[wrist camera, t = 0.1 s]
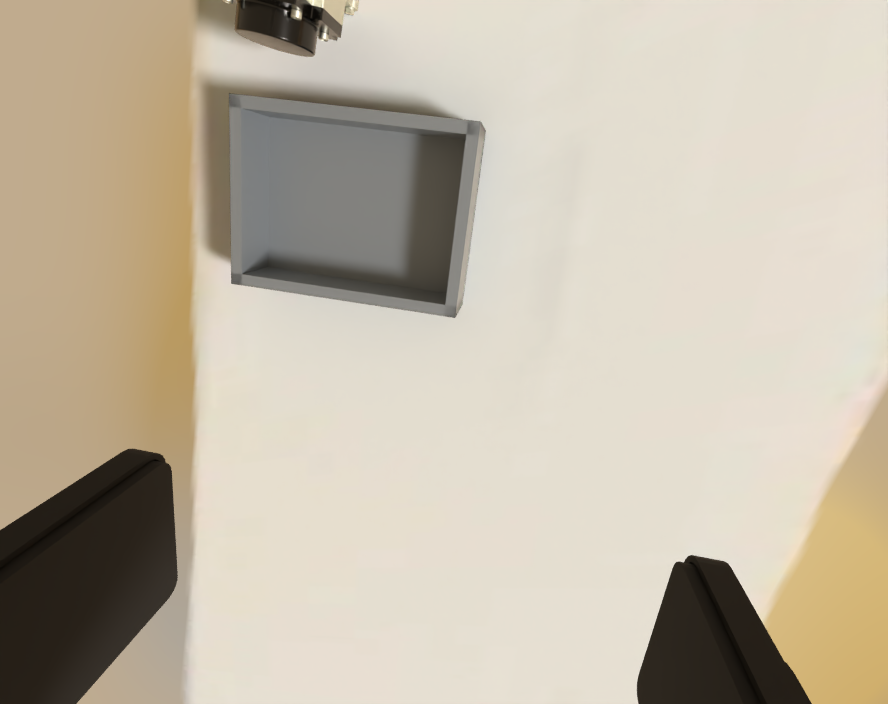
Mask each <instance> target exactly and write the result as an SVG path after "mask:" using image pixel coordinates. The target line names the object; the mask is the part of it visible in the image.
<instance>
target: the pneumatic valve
mask: <svg viewBox="0 0 888 704" xmlns="http://www.w3.org/2000/svg"><path fill="white" fill-rule="evenodd" d="M222 1H223V2H225V3H228V4H233V2H234V3H236V4H237V7H236V19H235V31H236V32H237V33H238V34H239V35H241V36H243V37H244V38H246V39H249V40H251V41H253V42H256V43H258V44H261V45H264V46H266V47H269V48H272V49H276V50H279V51H282V52H286V53H290V54H294V55H299V56H305V57H313V56H314V55H315V49H316V42H317V36H319V39H320V40H322V41H328V39H332V40H336V41H337V37H340V38H341V31H342V24H343V18H344V11H345V13H346V14H349V15H354V12H355V11H358V4H359V0H222Z"/></svg>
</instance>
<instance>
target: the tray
mask: <svg viewBox="0 0 888 704" xmlns="http://www.w3.org/2000/svg"><path fill="white" fill-rule="evenodd" d="M229 129H230V211H231V284H237V285H244V286H251V287H257V288H264V289H270V290H277V291H283V292H290V293H296V294H303V295H309V296H316V297H323V298H329V299H336V300H342V301H349V302H355V303H362V304H368V305H375V306H381V307H388V308H395V309H401V310H408V311H414V312H421V313H427V314H434V315H440V316H447V317H453V318H455V317H456V315H457V313H458V312H459V310H460V308H461V306H462V304H463V296H464V289H465V281H466V274H467V266H468V259H469V251H470V244H471V237H472V229H473V222H474V214H475V207H476V199H477V192H478V184H479V177H480V169H481V162H482V155H483V147H484V140H485V132H486V130H485V128H484V127H483V125H482V123H481V122H480V121H471V120H462V119H453V118H444V117H435V116H426V115H417V114H409V113H400V112H391V111H382V110H373V109H364V108H355V107H346V106H337V105H328V104H320V103H311V102H302V101H293V100H284V99H275V98H266V97H257V96H248V95H239V94H230V93H229Z"/></svg>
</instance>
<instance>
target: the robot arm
mask: <svg viewBox="0 0 888 704" xmlns="http://www.w3.org/2000/svg"><path fill="white" fill-rule="evenodd" d="M172 488H173V487H172V471H171V467H170V465H169V464H167V463H166V462H165V459H164V458H163V456H162V455H160V454H158V453H153V452H147V451H142V450H137V449H127V450H125V451H123V452H122V453H120V454H118V455H117V456H115V457H114V458H112V459H111V460H109V461H107V462H106V463H104V464H103V465H101V466H100V467H98V468H97V469H95V470H94V471H92V472H90V473H89V474H87V475H86V476H84V477H83V478H81V479H79V480H78V481H76V482H75V483H73V484H72V485H70V486H68V487H67V488H65V489H64V490H62V491H61V492H59V493H58V494H56V495H54V496H53V497H51V498H50V499H48V500H47V501H45V502H43V503H42V504H40V505H39V506H37V507H36V508H34V509H33V510H31V511H30V512H28V513H27V514H25V515H23V516H22V517H20V518H19V519H17V520H15V521H14V522H12V523H11V524H9V525H8V526H6V527H5V528H3V529H1V530H0V704H76V703H77V702H78V701H79V700H80V699H81V698H82V697H83V695H84V694H85V693H86V692H87V691H88V690H89V689H90V688H91V686H92V685H93V684H94V683H95V682H96V681H97V680H98V678H99V677H100V676H101V675H102V674H103V673H104V671H105V670H106V669H107V668H108V667H109V666H110V665H111V664H112V662H113V661H114V660H115V659H116V658H117V657H118V655H119V654H120V653H121V652H122V651H123V650H124V649H125V647H126V646H127V645H128V644H129V643H130V642H131V641H132V639H133V638H134V637H135V636H136V635H137V634H138V633H139V631H140V630H141V629H142V628H143V627H144V626H145V625H146V623H147V622H148V621H149V620H150V619H151V618H152V617H153V616H154V614H155V613H156V612H157V611H158V610H159V609H160V608H161V606H162V605H163V604H164V603H165V602H166V601H167V600H168V598H169V597H170V595H171V594H172V592H173V591H174V588H175V586H176V582H177V576H178V575H177V559H176V558H177V557H176V542H175V541H176V540H175V523H174V504H173V489H172ZM637 697H638V703H639V704H812V703H811V702H810V700H809V698H808V696H807V695H806V693H805V691H804V690H803V688H802V686H801V684H800V683H799V681H798V679H797V677H796V676H795V674H794V672H793V671H792V670H791V669H790V667H789V666H788V664H787V663H786V662H784V660H783V658H782V657H781V655H780V653H779V651H778V650H777V648H776V646H775V644H774V643H773V641H772V639H771V637H770V636H769V634H768V632H767V630H766V628H765V627H764V625H763V623H762V621H761V620H760V618H759V616H758V614H757V613H756V611H755V609H754V607H753V605H752V604H751V602H750V600H749V598H748V597H747V595H746V593H745V591H744V590H743V588H742V586H741V584H740V583H739V581H738V579H737V577H736V576H735V574H734V572H733V570H732V568H731V567H730V566H729V564H728V563H726V562H724V561H719V560H714V559H709V558H704V557H698V556H693V555H691V556H688V557H687V558H686V559H685V562H684V563H683V562H676V563H675V564H674V567H673V569H672V572H671V575H670V578H669V582H668V585H667V588H666V591H665V594H664V597H663V600H662V604H661V607H660V610H659V613H658V616H657V619H656V622H655V625H654V629H653V632H652V635H651V638H650V641H649V644H648V647H647V651H646V654H645V657H644V660H643V663H642V666H641V669H640V673H639V676H638V682H637Z"/></svg>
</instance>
